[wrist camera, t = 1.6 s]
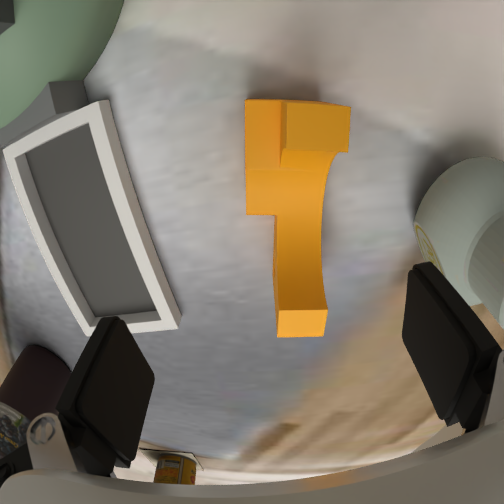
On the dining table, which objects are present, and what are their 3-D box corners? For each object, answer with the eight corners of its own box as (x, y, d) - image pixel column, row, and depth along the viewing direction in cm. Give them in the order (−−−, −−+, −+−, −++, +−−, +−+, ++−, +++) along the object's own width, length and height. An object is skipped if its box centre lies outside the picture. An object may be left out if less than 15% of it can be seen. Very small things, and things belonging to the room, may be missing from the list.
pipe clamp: (246, 99, 17) (241, 102, 11) (320, 101, 17) (350, 106, 11) (248, 274, 23) (245, 337, 17) (308, 274, 23) (323, 336, 17)
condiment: (204, 469, 41) (197, 534, 30) (154, 465, 41) (143, 526, 31) (192, 452, 37) (183, 526, 27) (138, 447, 38) (123, 515, 27)
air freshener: (389, 183, 19) (474, 258, 10) (476, 131, 17) (579, 174, 8) (432, 292, 23) (486, 379, 15) (502, 244, 21) (570, 312, 12)
